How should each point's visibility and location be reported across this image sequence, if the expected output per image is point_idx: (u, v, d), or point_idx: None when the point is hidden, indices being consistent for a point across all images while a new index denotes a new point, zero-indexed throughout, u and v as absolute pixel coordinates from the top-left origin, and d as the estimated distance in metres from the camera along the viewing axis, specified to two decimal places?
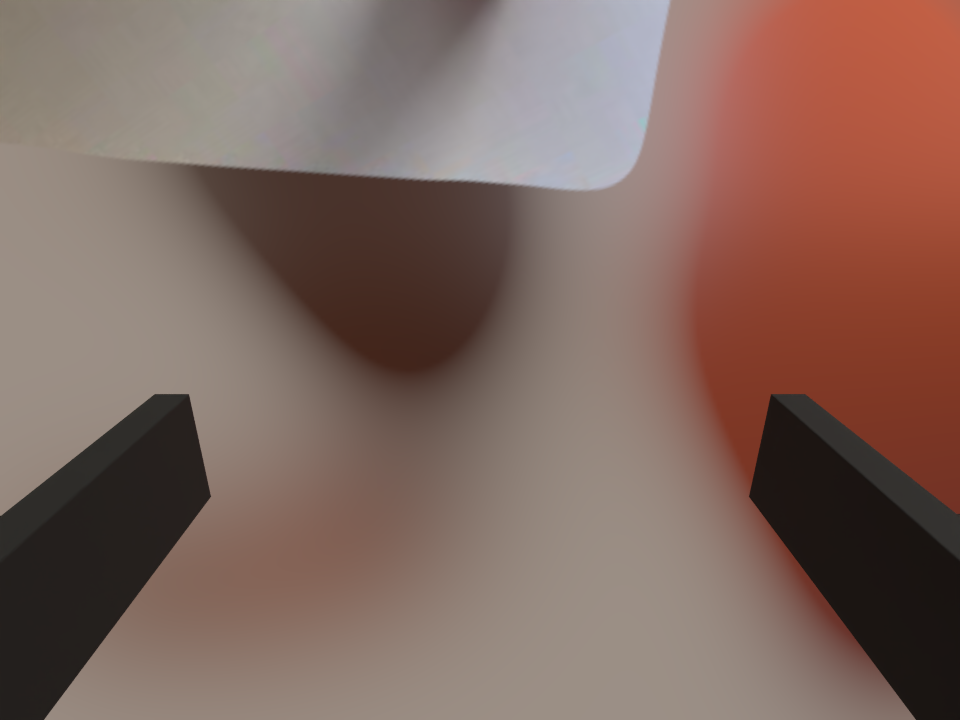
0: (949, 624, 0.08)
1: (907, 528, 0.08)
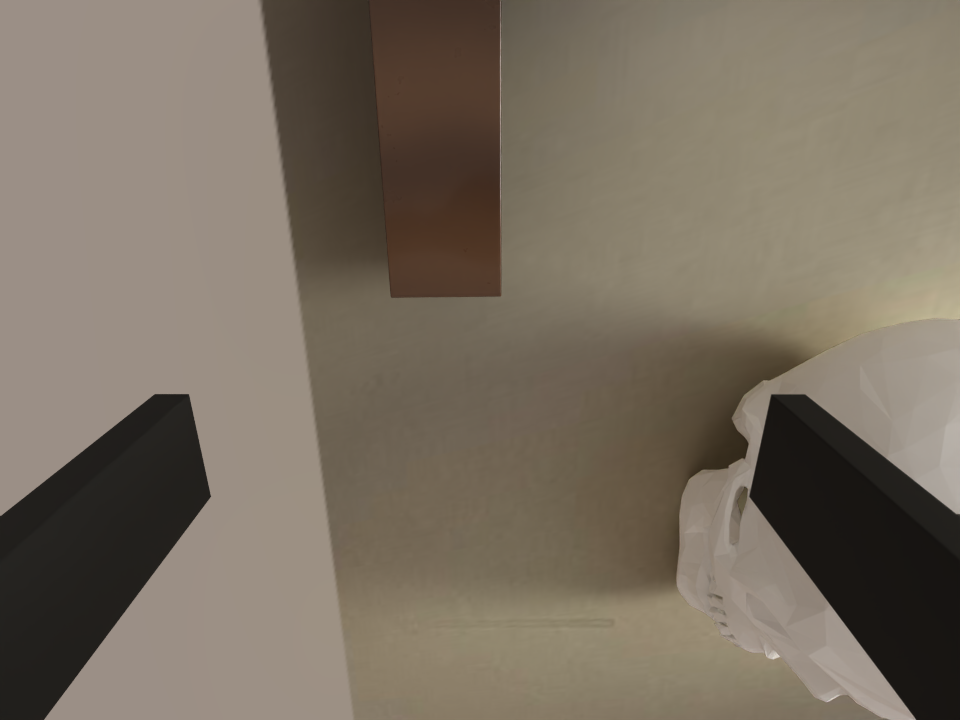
0: (949, 624, 0.08)
1: (907, 528, 0.08)
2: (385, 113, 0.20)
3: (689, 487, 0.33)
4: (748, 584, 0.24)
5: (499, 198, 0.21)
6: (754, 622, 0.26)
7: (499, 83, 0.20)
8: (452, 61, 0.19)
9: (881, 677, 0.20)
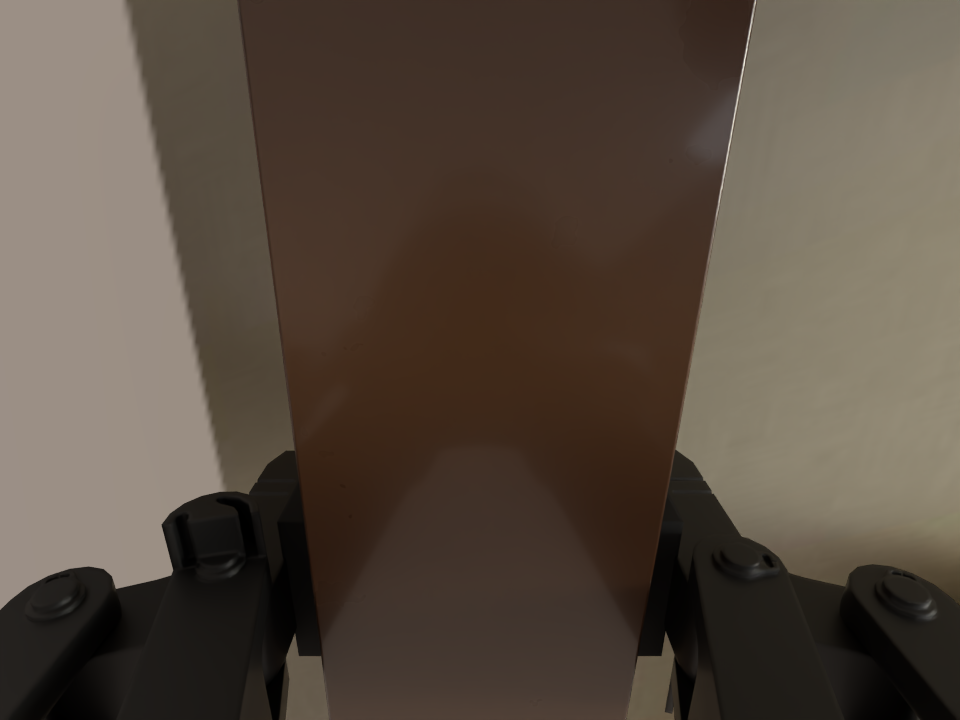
0: None
1: None
2: (314, 398, 0.06)
3: None
4: None
5: (642, 603, 0.07)
6: None
7: (694, 330, 0.06)
8: (544, 258, 0.06)
9: None
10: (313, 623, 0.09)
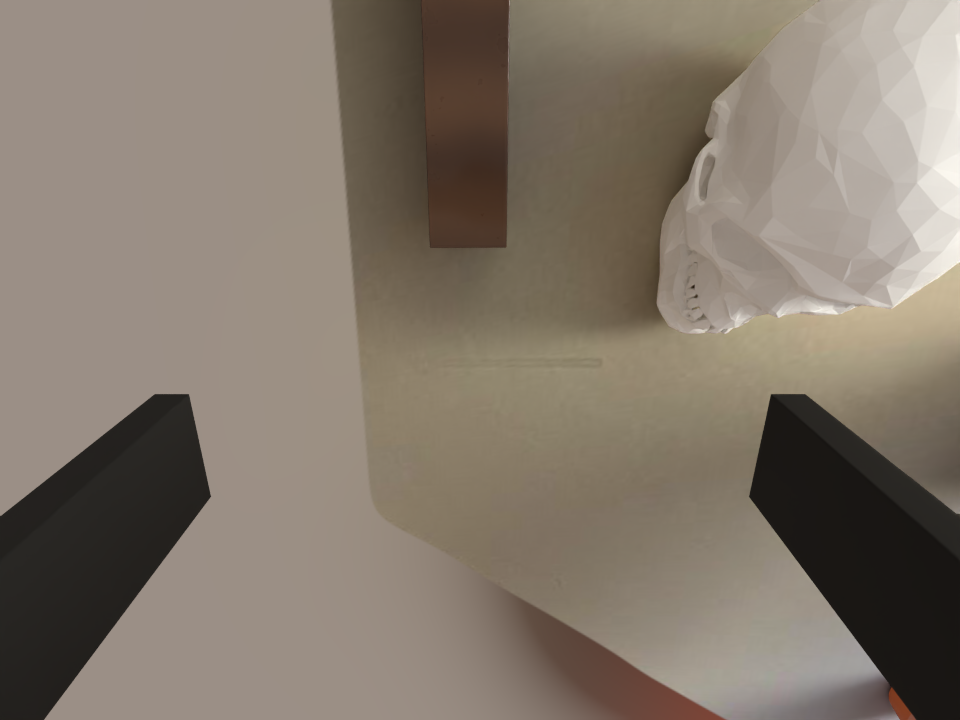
0: (949, 624, 0.08)
1: (907, 528, 0.08)
2: (431, 121, 0.30)
3: (668, 210, 0.38)
4: (713, 208, 0.29)
5: (506, 179, 0.31)
6: (719, 262, 0.31)
7: (507, 102, 0.30)
8: (476, 87, 0.30)
9: (814, 225, 0.25)
10: None
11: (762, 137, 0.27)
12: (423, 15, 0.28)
